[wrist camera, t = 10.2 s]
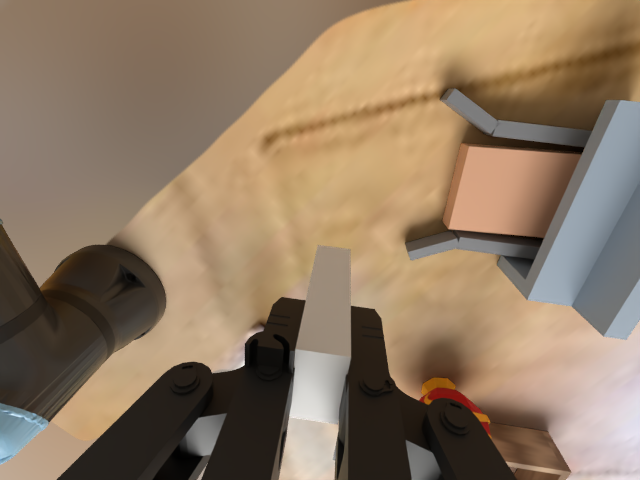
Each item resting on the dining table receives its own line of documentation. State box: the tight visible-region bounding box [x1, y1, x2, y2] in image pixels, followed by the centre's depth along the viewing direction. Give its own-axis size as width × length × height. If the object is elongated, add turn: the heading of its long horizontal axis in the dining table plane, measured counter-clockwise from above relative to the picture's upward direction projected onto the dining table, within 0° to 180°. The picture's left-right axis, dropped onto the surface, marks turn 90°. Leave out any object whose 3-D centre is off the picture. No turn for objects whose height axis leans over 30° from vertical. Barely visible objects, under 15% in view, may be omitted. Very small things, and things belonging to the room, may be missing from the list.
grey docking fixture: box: [405, 88, 640, 340], centre depth 30 cm, size 18×19×12 cm
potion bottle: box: [419, 378, 492, 439], centre depth 42 cm, size 10×10×15 cm
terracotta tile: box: [443, 143, 582, 238], centre depth 34 cm, size 12×9×3 cm
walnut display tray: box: [489, 423, 571, 480], centre depth 51 cm, size 14×17×6 cm
